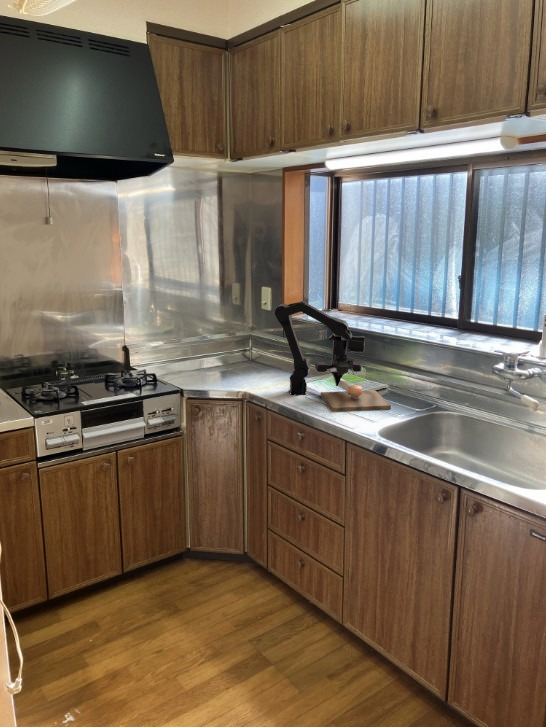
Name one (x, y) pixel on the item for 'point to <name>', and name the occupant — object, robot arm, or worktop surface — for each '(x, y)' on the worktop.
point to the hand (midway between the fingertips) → (336, 386)
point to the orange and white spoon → (350, 388)
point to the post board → (354, 401)
